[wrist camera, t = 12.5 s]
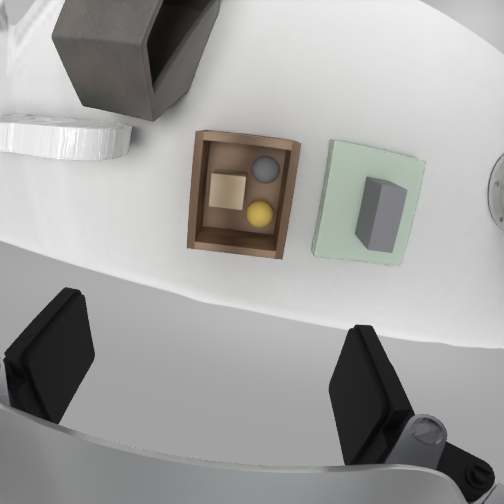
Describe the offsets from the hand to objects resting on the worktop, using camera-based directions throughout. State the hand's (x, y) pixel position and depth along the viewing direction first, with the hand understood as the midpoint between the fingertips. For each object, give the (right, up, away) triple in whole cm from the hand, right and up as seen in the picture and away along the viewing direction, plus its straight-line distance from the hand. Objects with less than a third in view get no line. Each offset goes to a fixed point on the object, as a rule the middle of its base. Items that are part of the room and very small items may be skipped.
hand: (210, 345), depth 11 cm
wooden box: (0, +11, +26) cm, 28 cm away
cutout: (-23, +19, +24) cm, 38 cm away
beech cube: (-1, +11, +25) cm, 28 cm away
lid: (+15, +9, +27) cm, 32 cm away
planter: (-7, +28, +20) cm, 35 cm away
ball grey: (+3, +12, +25) cm, 28 cm away
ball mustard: (+2, +8, +27) cm, 28 cm away
